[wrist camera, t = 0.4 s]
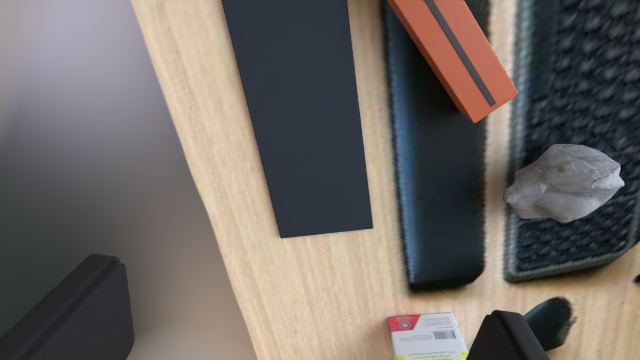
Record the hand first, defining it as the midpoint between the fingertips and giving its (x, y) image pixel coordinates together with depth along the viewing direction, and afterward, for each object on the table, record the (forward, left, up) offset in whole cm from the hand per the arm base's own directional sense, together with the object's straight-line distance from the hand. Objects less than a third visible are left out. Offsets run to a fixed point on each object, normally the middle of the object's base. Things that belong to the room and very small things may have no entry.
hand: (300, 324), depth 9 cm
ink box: (+10, +32, -29) cm, 44 cm away
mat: (+4, +1, -28) cm, 29 cm away
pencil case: (-11, 0, -28) cm, 31 cm away
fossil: (-12, +20, -29) cm, 37 cm away
